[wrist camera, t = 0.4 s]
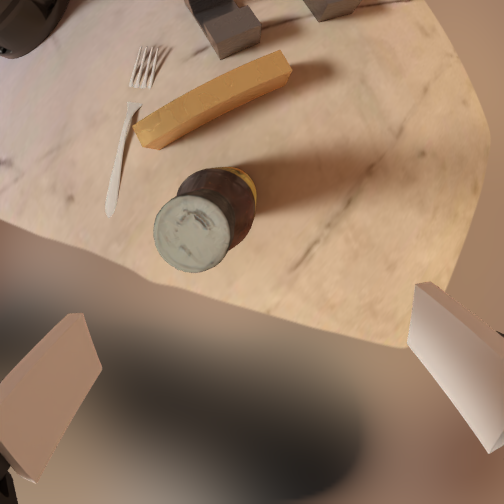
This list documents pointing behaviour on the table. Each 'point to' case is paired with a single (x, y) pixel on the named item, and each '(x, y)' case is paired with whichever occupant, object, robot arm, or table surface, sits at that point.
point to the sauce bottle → (205, 218)
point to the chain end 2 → (331, 8)
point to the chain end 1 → (226, 25)
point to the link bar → (213, 100)
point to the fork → (132, 108)
